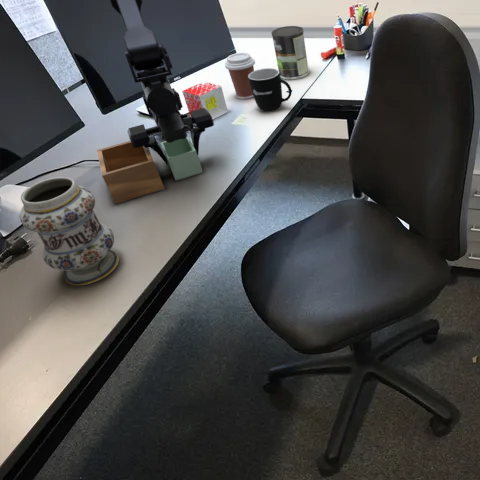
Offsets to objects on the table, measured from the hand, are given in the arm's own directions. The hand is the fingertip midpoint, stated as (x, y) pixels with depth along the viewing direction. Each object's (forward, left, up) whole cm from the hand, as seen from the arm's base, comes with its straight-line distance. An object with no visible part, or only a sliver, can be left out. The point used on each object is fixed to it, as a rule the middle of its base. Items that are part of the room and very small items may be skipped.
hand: (182, 159), depth 119 cm
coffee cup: (-35, +27, -3) cm, 44 cm away
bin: (0, 0, -3) cm, 3 cm away
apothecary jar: (+28, -24, -3) cm, 37 cm away
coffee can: (-42, +46, -3) cm, 62 cm away
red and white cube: (-28, +13, -3) cm, 31 cm away
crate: (0, -12, -2) cm, 12 cm away
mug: (-20, +31, -3) cm, 37 cm away
